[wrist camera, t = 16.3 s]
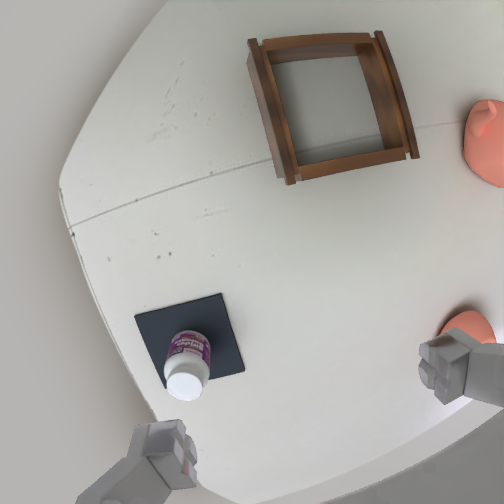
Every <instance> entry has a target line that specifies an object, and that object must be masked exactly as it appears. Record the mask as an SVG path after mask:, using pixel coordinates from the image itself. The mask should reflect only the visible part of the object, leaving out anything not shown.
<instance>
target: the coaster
mask: <svg viewBox="0 0 504 504" xmlns="http://www.w3.org/2000/svg"><path fill="white" fill-rule="evenodd" d="M134 318H135V320H136V323H137V325H138V328H139V330H140V333H141V335H142V338H143V340H144V343H145V345H146V347H147V350H148V352H149V354H150V357H151V359H152V361H153V363H154V366H155V368H156V370H157V372H158V374H159V377H160V379H161V381H162V383H163V385H164V387H165V389H167V380H166V378H165V375H164V366H165V362H166V359H167V355H168V351H169V348H170V345H171V342H172V339H173V338H174V337H175V336H176V335H177V334H178V333H180V332H182V331H186V330H191V331H196V332H199V333H201V334H202V335H204V336H205V337H206V339H207V340H208V342H209V344H210V375H209V380H211V379H215V378H220V377H224V376H228V375H232V374H236V373H240V372H244V371H245V369H244V366H243V363H242V360H241V357H240V354H239V351H238V347H237V344H236V341H235V338H234V335H233V332H232V328H231V325H230V322H229V319H228V315H227V312H226V309H225V306H224V302H223V299H222V296H221V294H217V295H213V296H210V297H206V298H202V299H198V300H194V301H190V302H186V303H183V304H179V305H175V306H171V307H167V308H163V309H159V310H155V311H151V312H147V313H143V314H139V315H135V316H134Z"/></svg>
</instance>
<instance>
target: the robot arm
mask: <svg viewBox="0 0 504 504" xmlns="http://www.w3.org/2000/svg"><path fill="white" fill-rule="evenodd" d="M419 355H420V356H421V357H422V360H421V362H420V364H419V375H420V378H421V380H422V382H423V384H424V385H425V386H426V387H427V388H429V389H433V390H435V391H434V395H435V396H436V397H437V398H438V399H439V400H440V401H441V402H442V403H443V404H444V405H446V404H448V403H449V402H451V401H453V400H455V399H457V398H458V397H460V396H462V395H464V396H466V397H469V398H473V399H476V400H479V401H483V402H486V403H490V404H493V405H497V406H500V407H504V344H499V343H487V342H486V343H484V344H482V343H481V342H479V341H477V340H476V339H474V338H473V337H471V336H470V335H468V334H467V333H465V332H463V331H462V330H460V329H459V328H457V327H453V328H451V329H449V330H448V331H446V332H444V333H443V334H441V335H439V336H437V337H435V338H433V339H431V340H429V341H427V342H424V343H422V344H421V345H420V348H419ZM185 431H186V427H185V425H184V424H183V422H182V420H180V419H177V420H169V421H162V422H154V423H147V424H138V425H137V426H136V427H135V429H134V433H133V436H132V440H131V443H130V447H129V451H128V454H127V458H122V459H121V460H120V461H119V462H117V463H116V464H115V465H114V466H113V467H112V468H111V469H110V470H108V471H107V472H106V473H105V474H104V475H103V476H102V477H100V478H99V479H98V480H97V481H96V482H95V483H93V484H92V485H91V486H90V487H89V488H88V489H86V490H85V491H84V492H83V493H82V494H81V495H79V496H78V498H77V501H76V504H163V503H164V502H165V501H166V499H167V498H168V496H169V495H170V494H171V492H172V491H171V490H178V489H186V488H193V487H196V483H197V472H196V470H195V468H194V465H195V464H196V463H197V453H196V448H195V445H194V442H193V440H192V438H191V437H190V436H188V435H187V434H185ZM318 504H504V409H503V410H501V411H500V412H499V413H497V414H496V415H495V416H493V417H492V418H491V419H489V420H488V421H486V422H485V423H483V424H482V425H481V426H479V427H478V428H476V429H475V430H473V431H472V432H470V433H469V434H467V435H466V436H464V437H462V438H461V439H459V440H458V441H456V442H454V443H453V444H451V445H449V446H448V447H446V448H444V449H443V450H441V451H439V452H437V453H436V454H434V455H432V456H430V457H428V458H427V459H425V460H423V461H421V462H419V463H417V464H415V465H413V466H412V467H409V468H407V469H405V470H403V471H401V472H399V473H397V474H395V475H392V476H390V477H388V478H386V479H383V480H381V481H379V482H376V483H374V484H372V485H369V486H367V487H364V488H362V489H359V490H356V491H354V492H351V493H348V494H345V495H343V496H340V497H337V498H334V499H331V500H328V501H325V502H321V503H318Z"/></svg>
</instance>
